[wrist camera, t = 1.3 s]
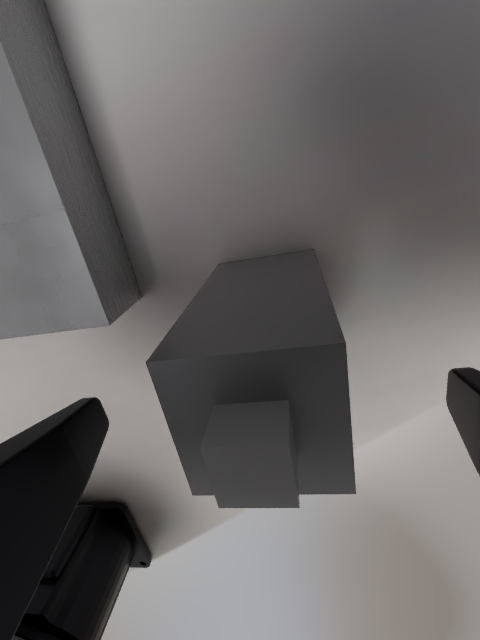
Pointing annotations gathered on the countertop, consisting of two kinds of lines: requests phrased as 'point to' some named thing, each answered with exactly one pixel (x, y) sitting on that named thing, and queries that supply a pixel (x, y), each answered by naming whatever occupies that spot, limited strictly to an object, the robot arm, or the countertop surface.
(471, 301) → the countertop surface
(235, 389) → the plug
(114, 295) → the socket plate
